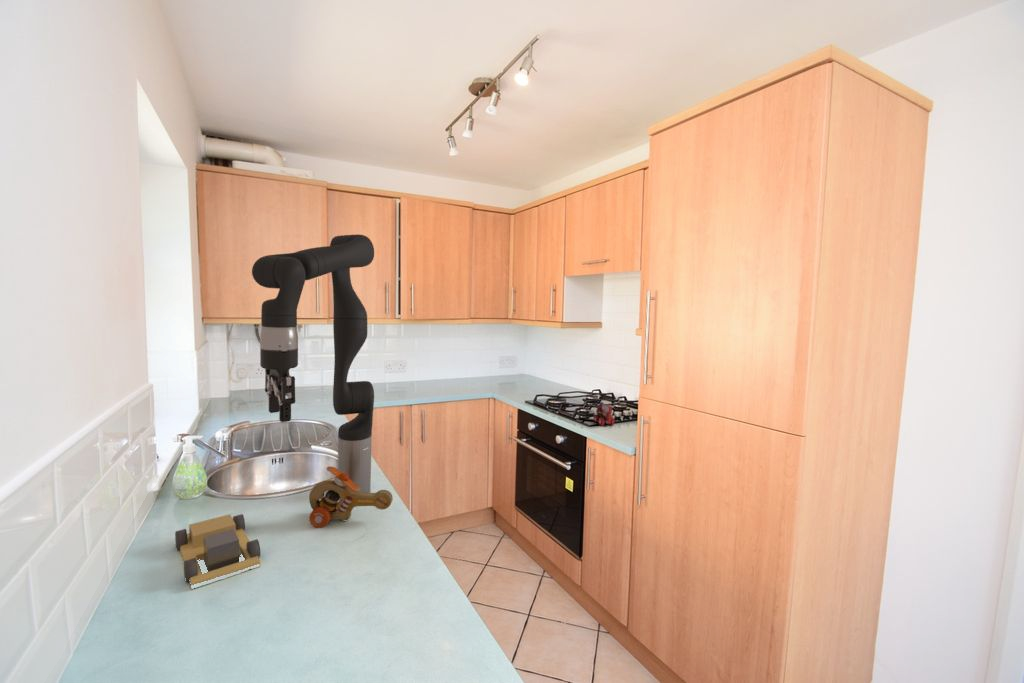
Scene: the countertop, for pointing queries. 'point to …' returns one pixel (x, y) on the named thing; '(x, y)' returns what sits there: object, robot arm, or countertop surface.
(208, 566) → the block
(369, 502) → the toy helicopter
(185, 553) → the chassis
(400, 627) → the countertop surface
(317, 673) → the countertop surface
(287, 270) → the robot arm
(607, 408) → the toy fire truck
